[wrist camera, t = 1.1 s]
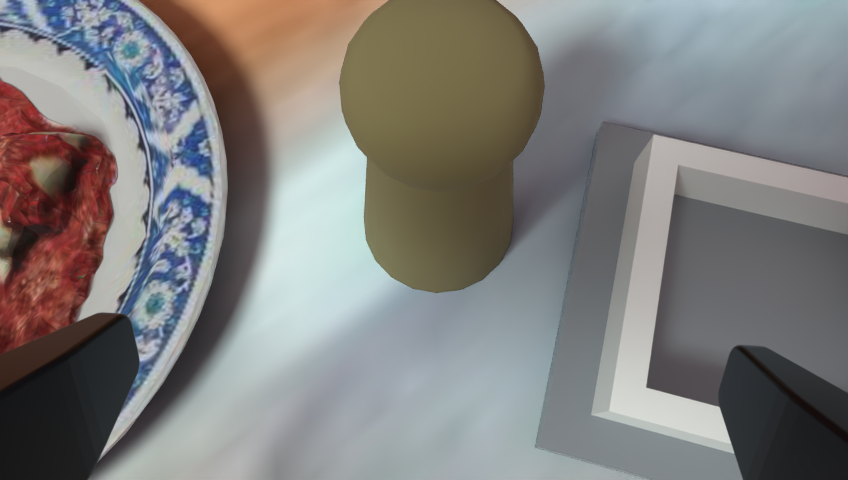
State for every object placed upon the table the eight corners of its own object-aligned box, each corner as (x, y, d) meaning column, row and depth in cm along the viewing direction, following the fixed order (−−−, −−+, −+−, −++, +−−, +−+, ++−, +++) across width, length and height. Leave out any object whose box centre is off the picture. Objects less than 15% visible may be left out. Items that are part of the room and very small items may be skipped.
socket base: (918, 554, 20) (1006, 574, 17) (534, 447, 21) (551, 447, 18) (917, 206, 24) (987, 171, 21) (596, 133, 25) (619, 91, 22)
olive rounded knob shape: (512, 154, 25) (568, -54, 15) (514, 294, 23) (581, 168, 13) (368, 151, 25) (322, -57, 15) (358, 290, 23) (298, 162, 13)
